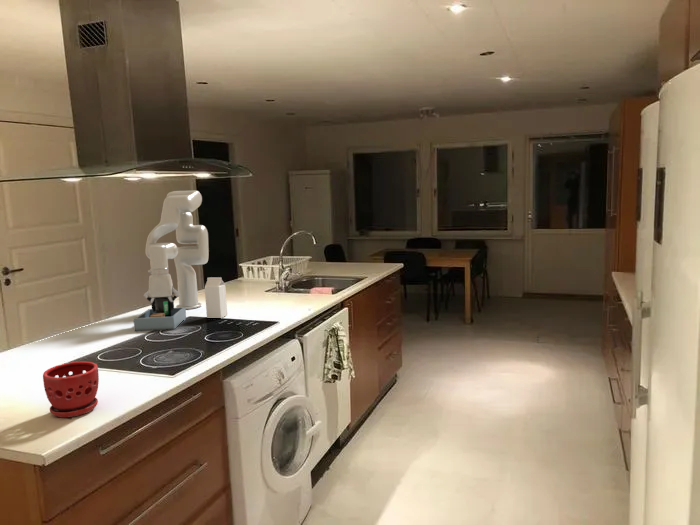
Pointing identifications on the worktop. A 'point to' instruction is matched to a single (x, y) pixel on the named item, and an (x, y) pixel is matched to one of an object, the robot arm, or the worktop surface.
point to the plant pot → (72, 388)
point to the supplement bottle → (162, 306)
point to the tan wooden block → (157, 315)
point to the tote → (159, 320)
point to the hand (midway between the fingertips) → (163, 310)
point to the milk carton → (215, 298)
